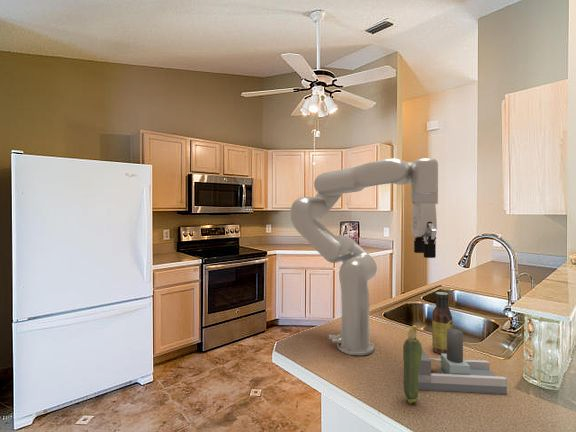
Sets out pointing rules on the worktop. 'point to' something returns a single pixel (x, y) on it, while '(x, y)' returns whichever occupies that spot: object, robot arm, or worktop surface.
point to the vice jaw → (454, 354)
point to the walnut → (435, 366)
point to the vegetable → (411, 365)
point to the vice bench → (461, 378)
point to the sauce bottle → (441, 323)
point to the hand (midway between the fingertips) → (424, 255)
